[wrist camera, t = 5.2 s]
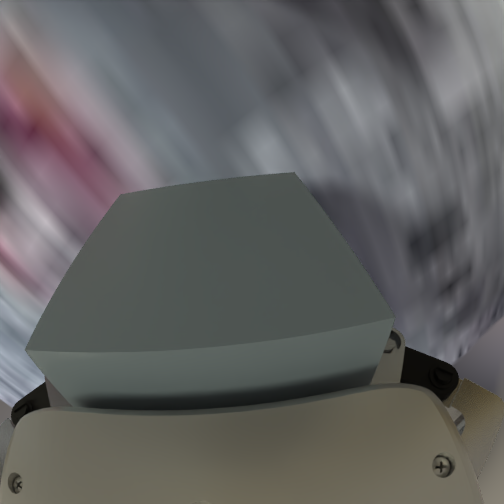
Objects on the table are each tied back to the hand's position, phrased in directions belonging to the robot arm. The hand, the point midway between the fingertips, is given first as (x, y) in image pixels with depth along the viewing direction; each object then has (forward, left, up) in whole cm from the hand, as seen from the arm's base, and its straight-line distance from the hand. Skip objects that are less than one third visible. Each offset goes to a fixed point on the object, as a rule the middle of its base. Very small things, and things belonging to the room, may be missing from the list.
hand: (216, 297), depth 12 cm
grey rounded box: (0, 0, -3) cm, 3 cm away
